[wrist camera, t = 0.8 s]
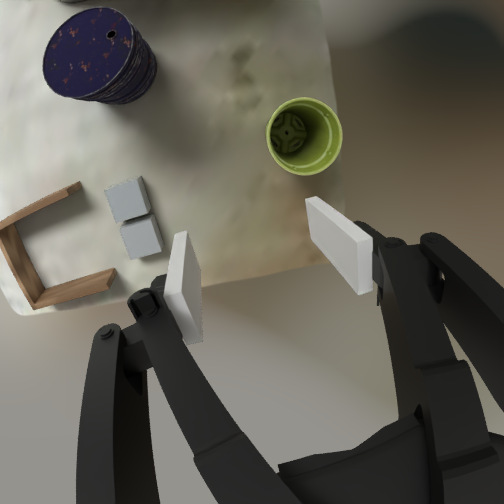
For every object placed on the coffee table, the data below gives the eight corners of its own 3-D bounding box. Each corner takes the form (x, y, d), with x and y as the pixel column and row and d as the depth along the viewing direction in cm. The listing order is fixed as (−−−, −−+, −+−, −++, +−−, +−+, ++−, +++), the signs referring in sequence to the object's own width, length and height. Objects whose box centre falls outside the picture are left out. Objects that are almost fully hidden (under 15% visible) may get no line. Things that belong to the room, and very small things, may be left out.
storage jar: (104, 117, 33) (57, 118, 20) (83, 63, 29) (32, 43, 16) (168, 85, 33) (149, 64, 20) (145, 30, 29) (118, -11, 15)
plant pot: (328, 136, 40) (356, 141, 32) (283, 177, 42) (302, 191, 34) (288, 89, 36) (309, 82, 28) (239, 131, 38) (249, 133, 30)
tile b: (123, 222, 41) (118, 229, 38) (153, 213, 41) (150, 219, 38) (134, 251, 43) (130, 260, 40) (163, 243, 43) (161, 251, 40)
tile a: (110, 185, 38) (104, 190, 35) (141, 175, 38) (136, 179, 35) (121, 216, 40) (115, 223, 37) (151, 207, 40) (147, 213, 38)
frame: (7, 217, 35) (-9, 227, 31) (79, 181, 36) (66, 188, 32) (44, 294, 43) (33, 310, 38) (116, 272, 44) (109, 289, 39)
